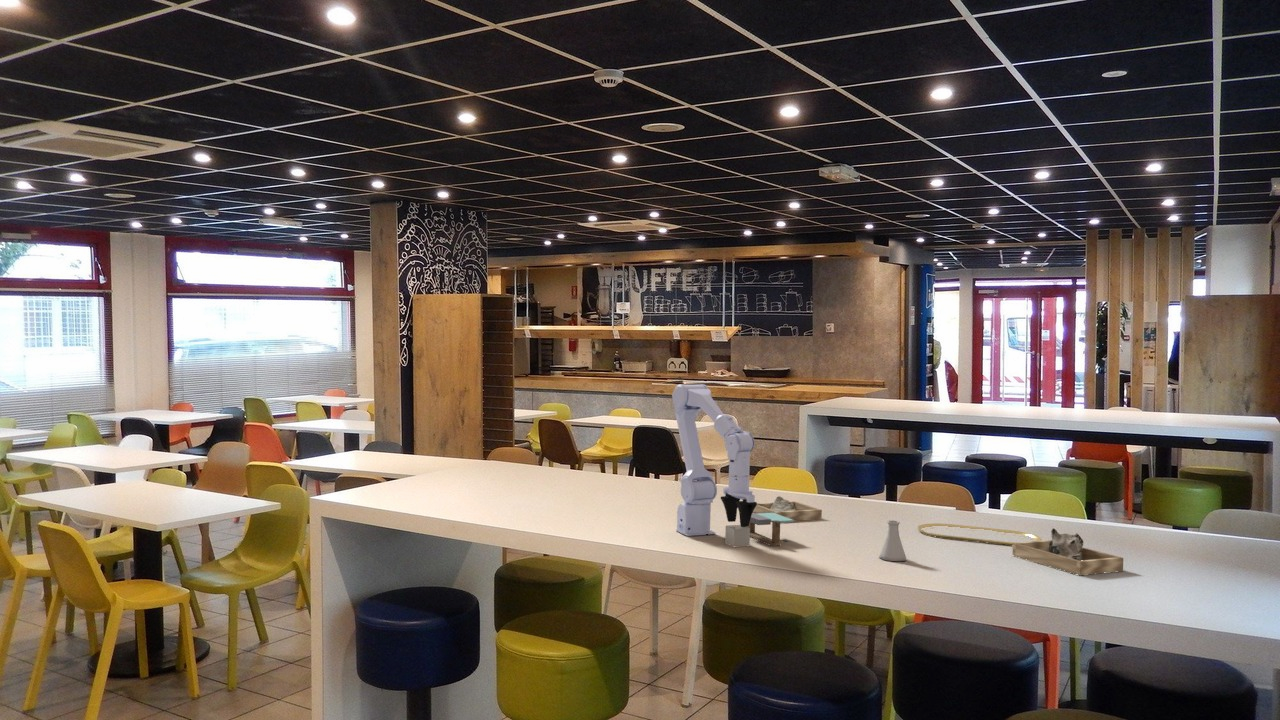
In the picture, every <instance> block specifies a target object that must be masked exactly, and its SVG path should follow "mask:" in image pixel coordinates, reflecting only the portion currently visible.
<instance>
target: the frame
mask: <svg viewBox="0 0 1280 720" xmlns="http://www.w3.org/2000/svg"><path fill="white" fill-rule="evenodd" d="M753 513H755V512H754V511H753ZM748 528H750V536H751V537H750V538H752V537H753V538H752V539H754V538H755V539H754V540H757V539H758V540H757V541H759V540H760V542H761V541H762V543H764V542H765V543H764V544H766V543H767V544H766V545H768V544H770V545H769V546H771V545H772V547H778V546H777V545H781V546H782V544H781V523H780V521H778V520H773V521H772V522H771V529H772V530H771V538H770V537H767V536H766V535H762V534H761V533H758V532H756V524H754V523H751V522H750V523H749V526H748Z"/></svg>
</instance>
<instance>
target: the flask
mask: <svg viewBox="0 0 1280 720" xmlns="http://www.w3.org/2000/svg"><path fill="white" fill-rule="evenodd" d="M900 524H901V523H900V521H899V520H891V519H890V520H887V525H888V527H887V528H888V529H887V534H886V538H885V540H884V543H883V545H882V548H881V551H880V553H879V557H878V558H880V559H882V560H883V561H889V562H890V561H891V562H905V561H907V556H906V553H905V550H904V547H903V544H902V540H901V537H900V530H899V525H900Z"/></svg>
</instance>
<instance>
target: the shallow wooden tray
mask: <svg viewBox="0 0 1280 720" xmlns="http://www.w3.org/2000/svg"><path fill="white" fill-rule="evenodd" d="M1050 541H1053V540H1052V539H1049V540H1048V539H1046V540H1042V541H1034V540H1032V541H1022V542H1015V543H1013V546H1012V555H1014V556H1013V557H1015V556H1017V557H1016V558H1018V557H1020V558H1019V559H1021V558H1023V559H1022V560H1025V559H1027V560H1026V561H1028V560H1029V562H1031V561H1033V562H1032V563H1035V562H1036V563H1035V564H1038V563H1039V564H1038V565H1041V564H1043V565H1042V566H1045V565H1047V566H1046V567H1048V566H1051V567H1054V568H1053V569H1055V568H1057V569H1056V570H1058V569H1061V570H1060V571H1062V570H1065V571H1068V572H1071V573H1070V574H1072V573H1074V574H1073V575H1075V574H1078V575H1084V576H1087V575H1086V574H1094V575H1096V574H1095V573H1103V574H1105V573H1104V572H1113V573H1115V572H1114V571H1123V572H1124V557H1122V556H1118V555H1113V554H1109V553H1106V552H1102V551H1098V550H1096V549H1092V548H1087V547H1082V555H1081V560H1083V561H1079V560H1075V559H1072V558H1068V557H1065V556H1061V555H1057V554H1054V553H1050V552H1049V543H1050ZM1079 553H1080V552H1079ZM1079 553H1078V554H1079ZM1012 555H1011V556H1012ZM1051 567H1050V568H1051ZM1065 571H1064V572H1065ZM1068 572H1067V573H1068ZM1078 575H1077V576H1078Z"/></svg>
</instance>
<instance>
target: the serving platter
mask: <svg viewBox="0 0 1280 720" xmlns="http://www.w3.org/2000/svg"><path fill="white" fill-rule="evenodd" d="M932 526H948V527H960V528H970V529H984V530H992V531H997V532H1004V533H1015V534H1021V535H1025V536H1029V537H1031V538H1034V539H1036V540H1037V541H1043V539H1042V537H1040V536H1039V535H1036V534H1032V533H1028V532H1024V531H1019V530H1011V529H1000V528H993V527H991V528H990V527H982V526H981V527H980V526H979V527H978V526H971V525H963V524H954V523H953V524H952V523H939V522H938V523H935V522H934V523H924V524H923V523H922V524H919V525H917V530H918V531H919V532H920V533H921V532H922V533H921V534H923V533H924V534H923V535H925V534H927V535H926V536H928V535H931V536H930V537H933V536H936V537H935V538H938V537H942V538H941V539H945V538H950V539H949V540H954V539H959V540H958V541H963V540H968V541H967V542H972V541H979V542H978V543H981V542H988V543H987V544H990V543H996V544H995V545H999V544H1005V545H1004V546H1009V545H1013V543H1016V542H1012V541H1001V540H993V539H983V538H975V537H965V536H956V535H947V534H939V533H933V532H930V531H925V530H921V529H922V528H925V527H932Z"/></svg>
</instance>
